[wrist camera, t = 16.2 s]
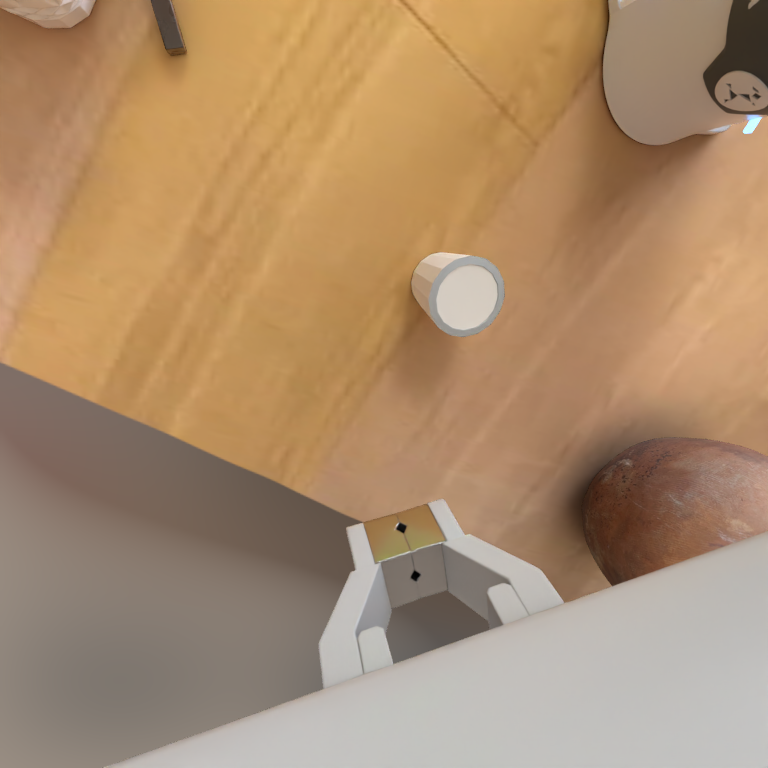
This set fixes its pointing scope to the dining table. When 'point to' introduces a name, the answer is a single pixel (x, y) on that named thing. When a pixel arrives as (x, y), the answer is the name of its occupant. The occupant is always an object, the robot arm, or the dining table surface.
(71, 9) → the white cup
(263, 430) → the dining table surface
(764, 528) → the pottery
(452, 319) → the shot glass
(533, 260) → the dining table surface
